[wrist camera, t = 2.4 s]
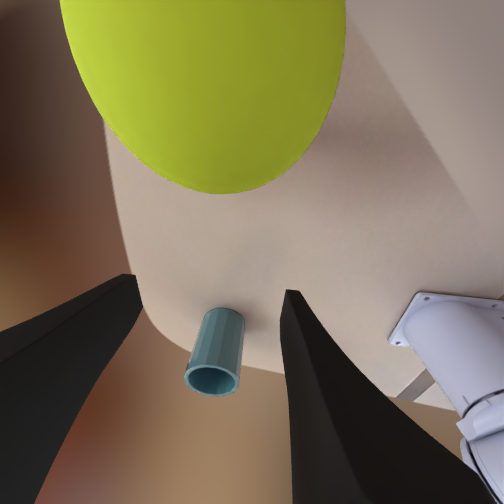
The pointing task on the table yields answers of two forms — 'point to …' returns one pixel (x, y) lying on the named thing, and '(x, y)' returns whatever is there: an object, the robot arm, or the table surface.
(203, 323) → the tumbler
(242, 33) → the ball
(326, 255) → the table surface
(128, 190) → the table surface
